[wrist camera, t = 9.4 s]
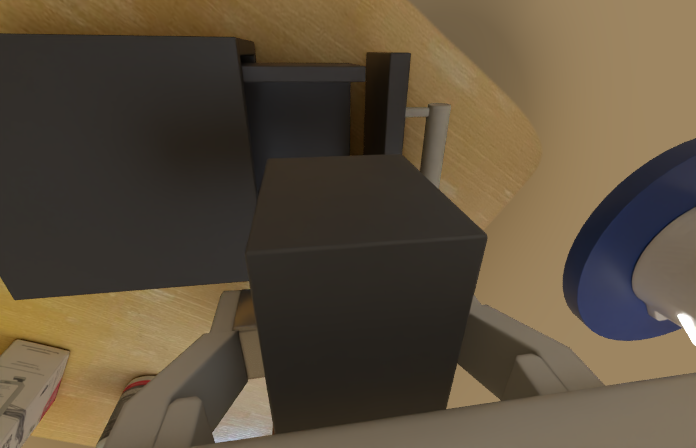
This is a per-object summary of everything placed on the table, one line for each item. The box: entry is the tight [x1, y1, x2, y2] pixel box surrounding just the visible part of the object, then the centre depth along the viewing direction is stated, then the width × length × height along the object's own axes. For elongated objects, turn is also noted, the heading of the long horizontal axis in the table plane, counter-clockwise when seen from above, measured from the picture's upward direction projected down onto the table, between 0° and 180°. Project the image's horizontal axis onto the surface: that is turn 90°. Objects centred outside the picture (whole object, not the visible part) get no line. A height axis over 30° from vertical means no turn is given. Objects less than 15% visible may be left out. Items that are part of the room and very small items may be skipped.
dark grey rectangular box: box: [245, 154, 487, 434], centre depth 9 cm, size 4×8×5 cm, turn 0°
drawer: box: [241, 52, 451, 196], centre depth 23 cm, size 19×13×7 cm
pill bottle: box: [96, 376, 155, 448], centre depth 33 cm, size 5×5×10 cm
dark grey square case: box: [0, 33, 258, 300], centre depth 22 cm, size 16×15×9 cm
